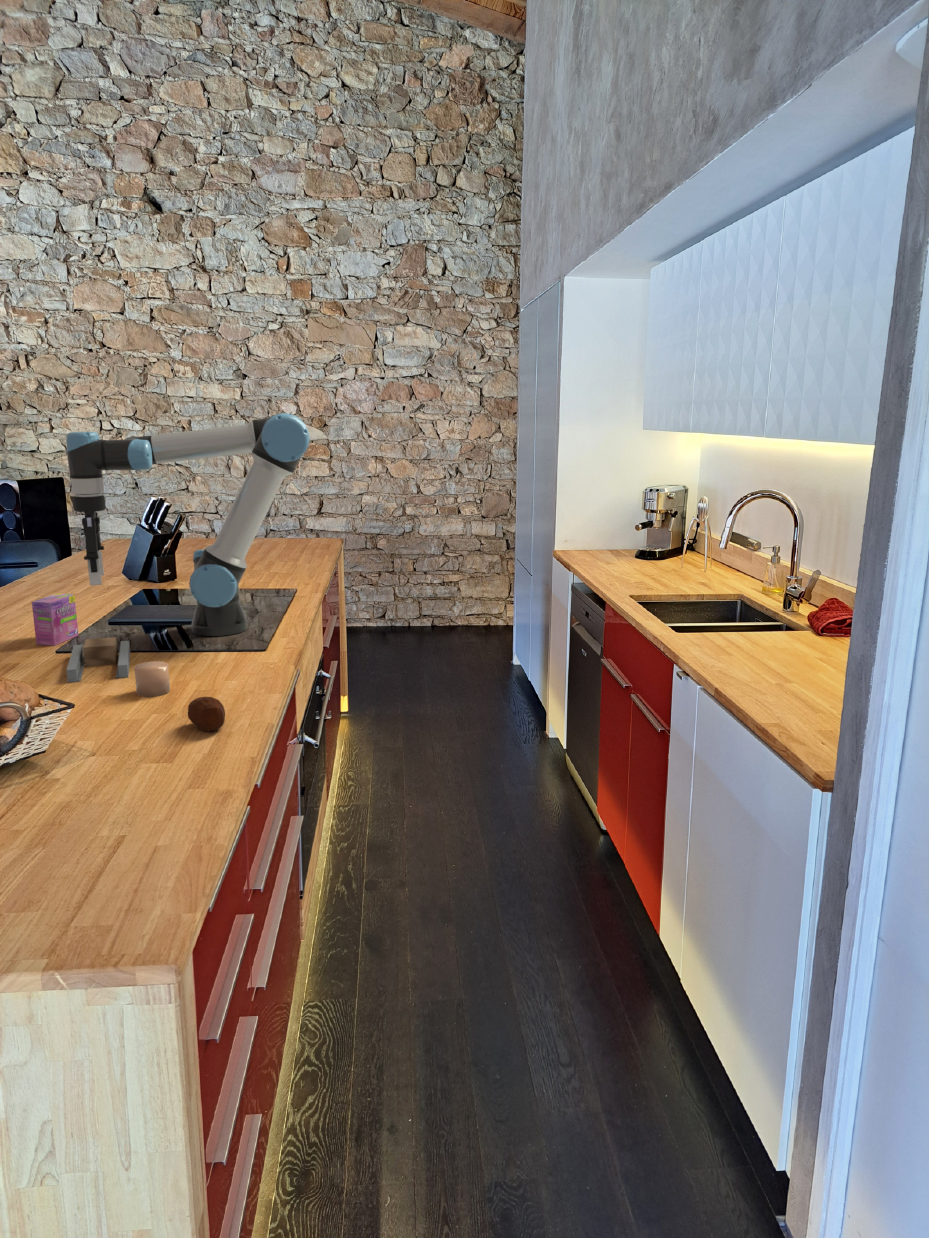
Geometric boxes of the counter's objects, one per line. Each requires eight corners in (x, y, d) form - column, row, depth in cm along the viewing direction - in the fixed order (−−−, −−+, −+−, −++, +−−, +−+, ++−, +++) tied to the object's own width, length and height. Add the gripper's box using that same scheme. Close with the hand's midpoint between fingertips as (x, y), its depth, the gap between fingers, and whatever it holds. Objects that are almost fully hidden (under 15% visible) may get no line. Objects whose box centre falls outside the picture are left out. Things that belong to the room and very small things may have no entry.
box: (55, 646, 229) (50, 602, 226) (35, 644, 230) (30, 601, 227) (79, 636, 239) (75, 594, 236) (61, 634, 240) (56, 593, 237)
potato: (194, 738, 168) (191, 706, 166) (184, 722, 176) (182, 692, 174) (230, 732, 171) (228, 701, 169) (220, 717, 179) (218, 687, 177)
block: (117, 656, 221) (116, 637, 220) (115, 665, 214) (114, 645, 212) (88, 658, 219) (86, 639, 218) (85, 667, 212) (83, 647, 210)
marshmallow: (169, 685, 198) (167, 660, 196) (170, 695, 192) (168, 669, 190) (136, 688, 196) (134, 663, 194) (136, 698, 189) (134, 672, 188)
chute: (130, 652, 224) (129, 640, 223) (128, 677, 204) (127, 664, 203) (75, 656, 220) (73, 645, 219) (67, 682, 200) (66, 670, 199)
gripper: (75, 490, 227) (84, 572, 232) (67, 500, 205) (77, 590, 211) (106, 489, 230) (114, 570, 235) (102, 499, 208) (111, 588, 213)
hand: (97, 580), depth 223 cm, fingers open, 12 cm apart
